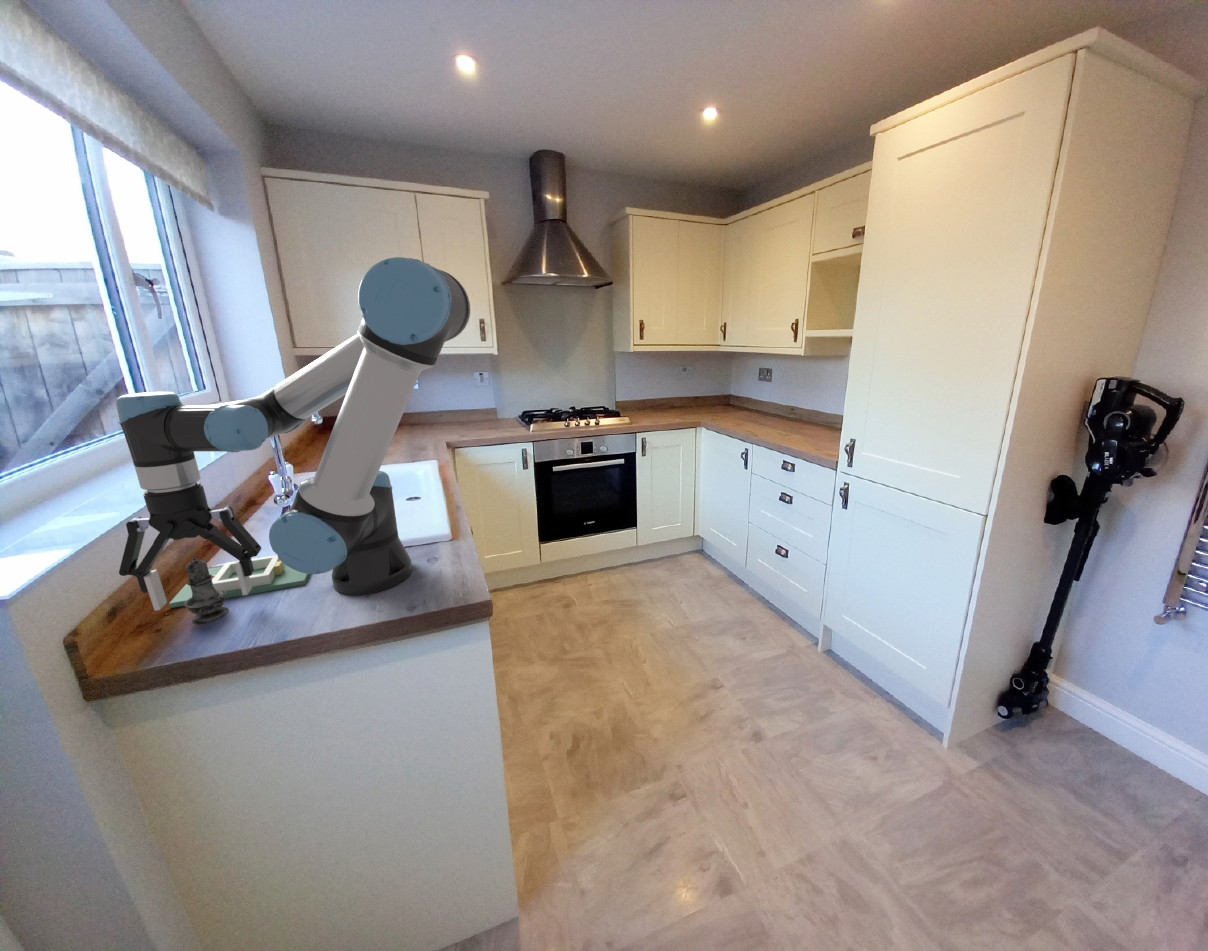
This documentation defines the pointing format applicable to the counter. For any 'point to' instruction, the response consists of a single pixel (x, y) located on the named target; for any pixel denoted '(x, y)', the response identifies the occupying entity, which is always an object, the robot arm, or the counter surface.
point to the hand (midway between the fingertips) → (205, 598)
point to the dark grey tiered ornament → (204, 594)
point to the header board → (264, 578)
